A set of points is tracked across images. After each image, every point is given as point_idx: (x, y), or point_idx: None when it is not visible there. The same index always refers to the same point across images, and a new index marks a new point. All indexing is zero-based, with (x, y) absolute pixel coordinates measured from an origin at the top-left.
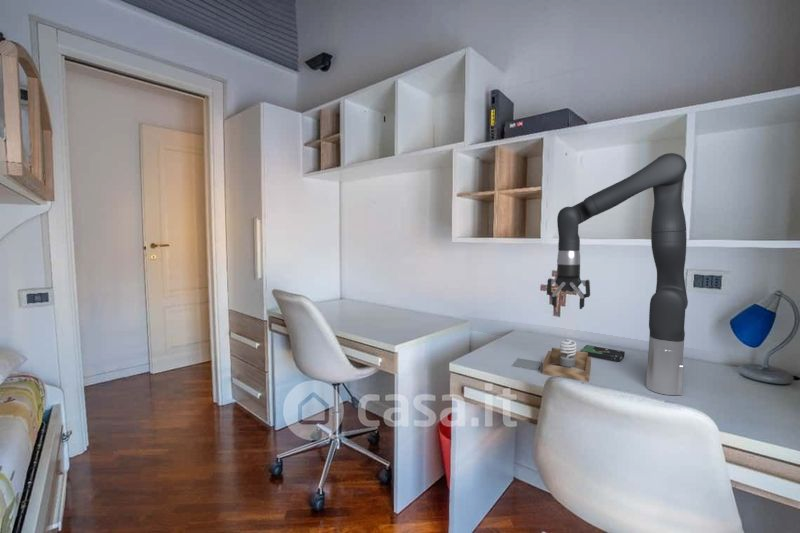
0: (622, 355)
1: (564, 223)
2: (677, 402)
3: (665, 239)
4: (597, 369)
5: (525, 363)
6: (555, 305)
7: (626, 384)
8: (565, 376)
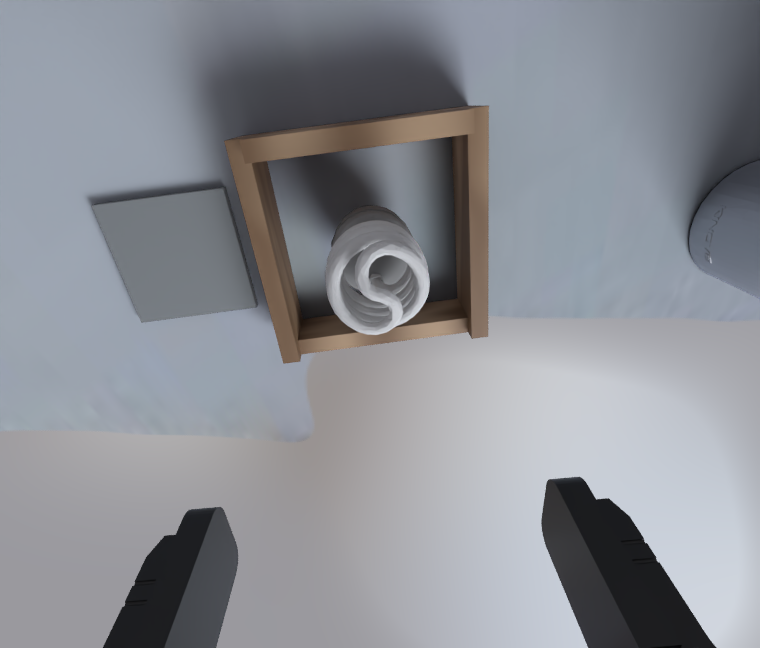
0: None
1: None
2: (748, 319)
3: None
4: (503, 95)
5: (173, 269)
6: (228, 585)
7: (614, 244)
8: None
